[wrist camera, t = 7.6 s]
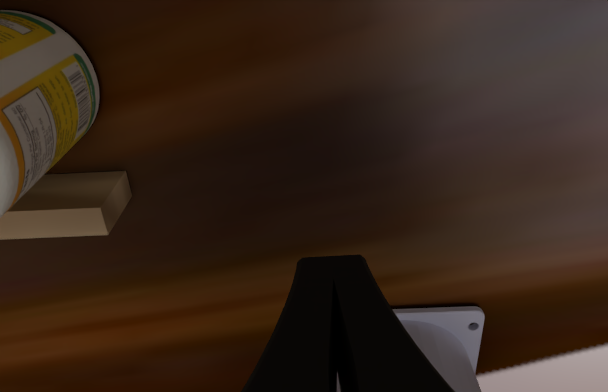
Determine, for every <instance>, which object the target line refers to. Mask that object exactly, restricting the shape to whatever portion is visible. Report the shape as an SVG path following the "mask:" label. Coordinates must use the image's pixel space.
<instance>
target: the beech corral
mask: <svg viewBox="0 0 608 392" xmlns="http://www.w3.org/2000/svg"><path fill="white" fill-rule="evenodd" d="M131 197H132V193H131V189H130V185H129V181H128V177H127V173H126V171H112V172H91V173H69V174H47V175H43V176H42V177H41V178H40V179H39V180H38V181H37V182H36V183H35V184H34V185H33V186H32V187H31V188H30V189H29V190H28V191H27V192H26V193H25V194H24V195H23V196H22V197H21V198H20V199H19V200H18V201H17V202H16V203H15V204H14V205H13V206H12V207H11V208H10V209H9V210H8V211H7V212H6V213H5V214H4V215H3V216H2V217H1V218H0V239H23V238H46V237H70V236H93V235H109V233H110V231H111V230H112V228H113V226H114V225H115V223H116V221H117V220H118V218H119V217H120V215H121V213H122V212H123V210H124V208H125V207H126V205H127V203H128V202H129V200H130V199H131Z"/></svg>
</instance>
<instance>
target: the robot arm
mask: <svg viewBox="0 0 608 392" xmlns="http://www.w3.org/2000/svg"><path fill="white" fill-rule="evenodd" d="M484 319H485V316H484V313H483V311H482V309H481V308H479V307H477V306H465V307H438V308H412V309H392V308H391V307H390V305H389V304H388V302H387V300H386V299H385V297H384V295H383V294H382V292H381V290H380V288H379V287H378V285H377V283H376V281H375V279H374V277H373V275H372V273H371V271H370V269H369V267H368V265H367V262H366V260H365V258H363V257H362V256H361V255H344V256H326V257H307V258H302V259H300V260H299V261H298V262H297V268H296V273H295V276H294V280H293V284H292V287H291V290H290V292H289V295H288V298H287V301H286V303H285V306H284V308H283V311H282V313H281V315H280V318H279V320H278V322H277V325H276V327H275V329H274V332H273V334H272V336H271V338H270V340H269V342H268V344H267V346H266V348H265V350H264V352H263V354H262V355H261V357H260V359H259V361H258V363H257V365H256V367H255V369H254V371H253V373H252V374H251V376H250V378H249V380H248V381H247V383H246V385H245V386H244V388H243V390H242V391H241V392H481V390H480V387H479V384H478V381H477V379H476V376H475V372H476V366H477V360H478V355H479V349H480V343H481V337H482V331H483V325H484ZM471 323H474V324H472V325H469V324H471Z"/></svg>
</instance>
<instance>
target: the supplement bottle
mask: <svg viewBox="0 0 608 392" xmlns="http://www.w3.org/2000/svg"><path fill="white" fill-rule="evenodd" d="M99 98H100V97H99V85H98V80H97V77H96V73H95V71H94V68H93V66H92V64H91V62H90V60H89V58H88V57H87V55H86V54H85V52H84V51H83V49H82V48H81V47H80V46H79V44H78V43H77V42H76V41H75V40H74V39H73V38H72V37H71V36H70V35H69V34H67V33H66V32H65V31H64V30H62V29H61V28H59V27H58V26H56V25H55V24H54V23H52V22H50V21H48V20H46V19H44V18H41V17H38V16H35V15H32V14H29V13H25V12H20V11H13V10H0V218H1V217H2V216H3V215H4V214H5V213H6V212H7V211H8V210H9V209H10V208H11V207H12V206H13V205H14V204H15V203H16V202H17V201H18V200H19V199H20V198H21V197H22V196H23V195H24V194H25V193H26V192H27V191H28V190H29V189H30V188H31V187H32V186H33V185H34V184H35V183H36V182H37V181H38V180H39V179H40V178H41V177H42V176H43V175H44V174H45V173H46V172H47V171H48V170H49V169H50V168H51V167H53V166H54V165H55V164H56V163H57V162H58V161H59V160H60V159H61V158H62V157H63V156H64V155H65V154H66V153H67V152H68V151H69V150H70V149H71V148H72V147H73V146H74V145H75V144H76V143H77V142H78V141H79V140H80V139H81V138H82V137H83V136H84V135H85V134H86V132H87V131H88V130H89V129H90V127H91V125H92V124H93V122H94V120H95V117H96V115H97V111H98V107H99Z"/></svg>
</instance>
